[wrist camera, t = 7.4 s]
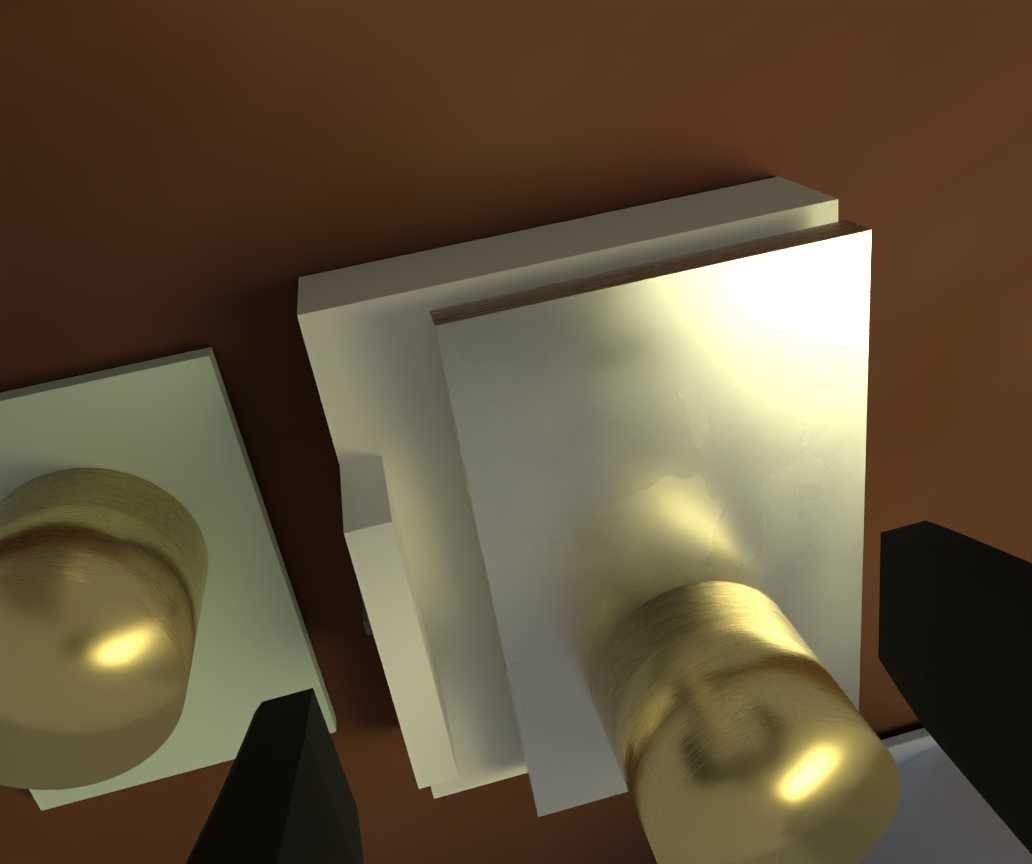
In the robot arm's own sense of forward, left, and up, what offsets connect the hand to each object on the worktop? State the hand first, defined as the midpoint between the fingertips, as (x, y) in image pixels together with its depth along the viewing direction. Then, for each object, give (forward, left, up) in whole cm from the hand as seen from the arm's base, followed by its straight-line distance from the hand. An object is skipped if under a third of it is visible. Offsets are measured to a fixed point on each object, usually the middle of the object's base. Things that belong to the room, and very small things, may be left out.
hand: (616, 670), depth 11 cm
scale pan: (-3, -3, -7) cm, 8 cm away
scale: (-3, -2, -9) cm, 10 cm away
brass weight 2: (-6, -3, -6) cm, 8 cm away
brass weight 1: (-2, +9, -9) cm, 13 cm away
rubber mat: (-3, +9, -9) cm, 13 cm away
